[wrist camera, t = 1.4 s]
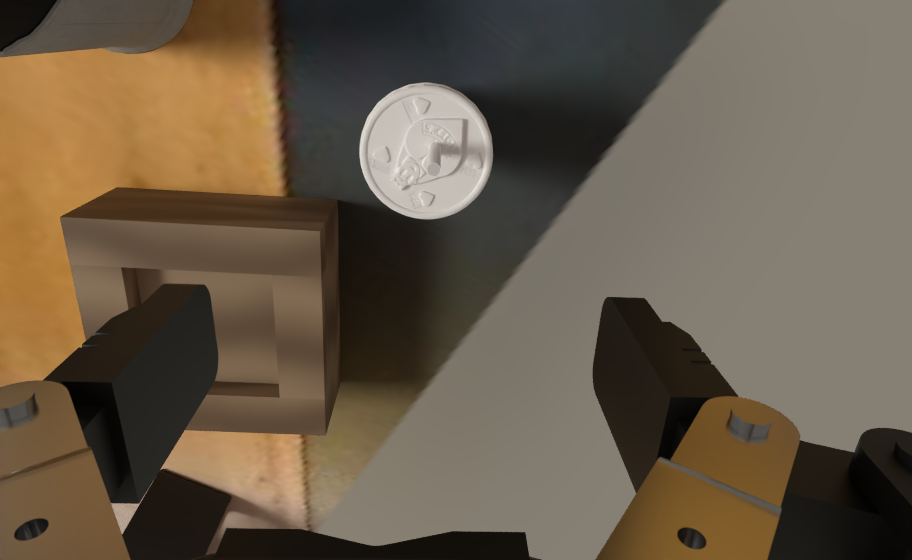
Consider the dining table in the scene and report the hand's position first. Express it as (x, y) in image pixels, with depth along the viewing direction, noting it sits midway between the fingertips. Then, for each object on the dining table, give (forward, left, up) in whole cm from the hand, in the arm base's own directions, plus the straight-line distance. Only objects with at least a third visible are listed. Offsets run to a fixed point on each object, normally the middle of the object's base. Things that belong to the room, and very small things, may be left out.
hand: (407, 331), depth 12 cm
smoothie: (0, 0, -27) cm, 27 cm away
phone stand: (+33, -20, -27) cm, 47 cm away
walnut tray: (+12, -13, -27) cm, 32 cm away
